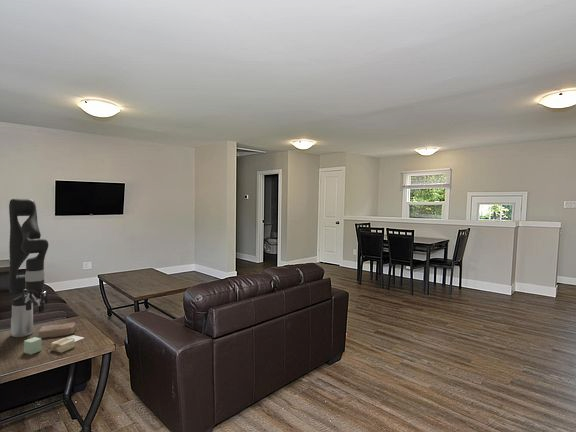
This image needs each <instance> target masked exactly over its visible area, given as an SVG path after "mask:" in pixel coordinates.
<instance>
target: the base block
mask: <svg viewBox="0 0 576 432" xmlns="http://www.w3.org/2000/svg"><path fill="white" fill-rule="evenodd" d="M75 343H76V342H75V340H74V339H69V338H66V337H63V338H60V339H57V340H55V341H53V342H50V351H51V352H52V351H53V352H58V353H64V352H66V351H68V350H70V349H73V348H75Z"/></svg>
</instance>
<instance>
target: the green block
mask: <svg viewBox="0 0 576 432" xmlns="http://www.w3.org/2000/svg"><path fill="white" fill-rule="evenodd" d="M42 339H43V338H38V337H35V336H34V337H31V338H28V339H25V340H24V341H23V353H24V354H28V355H33V354H35V353H38V352H41V351H42V348H43V347H42V345H43V344H42V343H43V342H42V341H43V340H42Z"/></svg>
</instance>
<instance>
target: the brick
mask: <svg viewBox="0 0 576 432" xmlns="http://www.w3.org/2000/svg"><path fill="white" fill-rule="evenodd" d="M76 325H77V324H76V322H67V323H63V324H51V325H43V326H41V327H40V329H39V330H38V332H37V338H41V339H44V338H51V337H60V336H61V337H62V336H70V335H74V333H75V331H76Z"/></svg>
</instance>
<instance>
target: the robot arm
mask: <svg viewBox="0 0 576 432" xmlns="http://www.w3.org/2000/svg"><path fill="white" fill-rule="evenodd" d="M8 212H9V213H8V214H9V225H10V226H9V227H10V228H9V243H8V244H9V271H8V281H7V282H8V285H7V286H8V292H9V293H11V294H15V293H22V294H21V295H19V296H17V297H14V298H13V299H12V300H11V317H10V335H11V337H12V338H23V337H28V336H30V335H31V334H33V333H34V302H35V303H37V313H38V314H41V313H44V312H45V308H44V307H45V305H48V303H49V302H48V292H47V291H44V292H43V289H44V288H45V259H46V254H47V252H48V249H49V242H48V240H47V239H46V238H41V236H42V235H41V232H40V228H39V223H38V211H37V205H36V202H35V200H33V199H29V198H12V199H10V200H9V203H8ZM19 217H28V218H26V220H25V221H24V222H23V223H22V224H20V222H19V219H18V218H19ZM30 254H37V255H36V256H33V257H30V258H28V257H29V255H30ZM25 260H26V261H25ZM24 262H25V274H18V271H19V269H20V267H21V266H22V265H23V263H24Z"/></svg>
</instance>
